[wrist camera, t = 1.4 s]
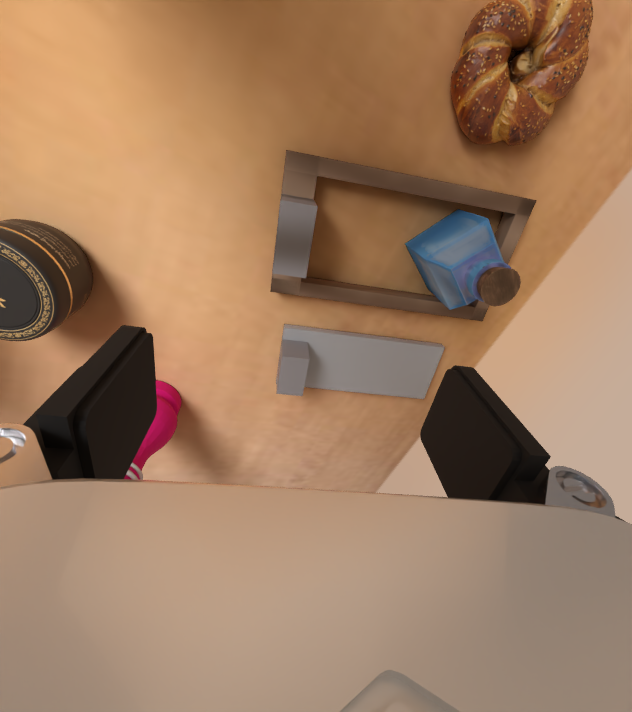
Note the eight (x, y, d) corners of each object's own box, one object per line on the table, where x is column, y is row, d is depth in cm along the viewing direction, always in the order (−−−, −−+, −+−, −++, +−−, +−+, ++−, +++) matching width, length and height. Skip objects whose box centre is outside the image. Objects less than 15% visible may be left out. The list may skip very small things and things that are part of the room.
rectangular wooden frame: (286, 150, 32) (286, 149, 26) (524, 198, 35) (573, 207, 29) (271, 285, 38) (268, 309, 32) (474, 314, 42) (505, 341, 36)
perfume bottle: (478, 258, 38) (548, 296, 28) (428, 289, 40) (477, 336, 30) (458, 209, 36) (527, 231, 25) (404, 243, 37) (450, 278, 27)
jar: (63, 328, 39) (17, 363, 33) (-30, 258, 35) (-104, 283, 28) (119, 273, 36) (82, 299, 30) (27, 191, 32) (-40, 201, 26)
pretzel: (530, -66, 26) (565, -97, 23) (601, 51, 30) (639, 38, 27) (418, 89, 30) (434, 81, 27) (493, 174, 34) (514, 175, 31)
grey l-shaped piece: (284, 323, 41) (283, 344, 36) (441, 343, 44) (458, 364, 39) (276, 379, 44) (275, 403, 40) (421, 394, 47) (434, 418, 43)
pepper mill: (146, 365, 42) (48, 511, 25) (196, 396, 45) (140, 546, 28) (116, 401, 45) (8, 557, 27) (166, 428, 47) (97, 585, 30)
